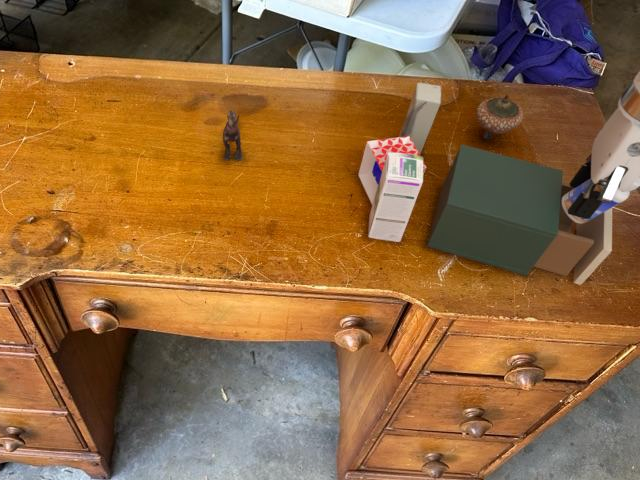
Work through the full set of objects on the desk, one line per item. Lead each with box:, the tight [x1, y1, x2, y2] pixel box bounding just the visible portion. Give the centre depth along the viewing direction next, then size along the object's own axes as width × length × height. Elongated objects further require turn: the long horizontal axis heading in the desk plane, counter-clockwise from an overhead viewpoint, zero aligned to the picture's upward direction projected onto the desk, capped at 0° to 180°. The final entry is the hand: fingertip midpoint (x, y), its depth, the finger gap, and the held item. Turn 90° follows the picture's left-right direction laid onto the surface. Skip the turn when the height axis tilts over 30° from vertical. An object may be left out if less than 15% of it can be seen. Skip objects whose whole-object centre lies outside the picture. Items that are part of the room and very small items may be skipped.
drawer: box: [533, 181, 613, 286], centre depth 93 cm, size 17×13×9 cm
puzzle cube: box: [357, 136, 427, 205], centre depth 101 cm, size 8×8×8 cm
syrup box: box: [367, 152, 424, 243], centre depth 93 cm, size 6×6×14 cm
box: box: [398, 82, 442, 155], centre depth 105 cm, size 5×4×13 cm
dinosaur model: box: [222, 110, 243, 161], centre depth 105 cm, size 4×12×15 cm
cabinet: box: [426, 144, 564, 277], centre depth 95 cm, size 17×15×11 cm
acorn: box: [476, 94, 524, 139], centre depth 109 cm, size 8×8×10 cm
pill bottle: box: [561, 175, 640, 224], centre depth 85 cm, size 5×5×10 cm
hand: (579, 200), depth 88 cm, fingers closed on pill bottle, 5 cm apart
